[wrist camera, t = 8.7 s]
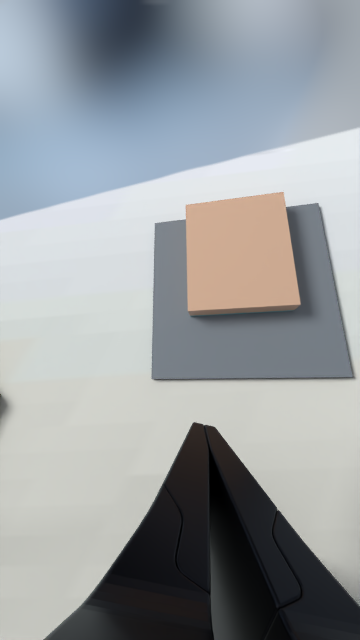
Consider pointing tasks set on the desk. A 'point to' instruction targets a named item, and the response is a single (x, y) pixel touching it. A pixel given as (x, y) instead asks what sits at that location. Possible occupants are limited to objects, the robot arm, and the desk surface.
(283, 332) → the mat
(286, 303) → the tile
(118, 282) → the desk surface
